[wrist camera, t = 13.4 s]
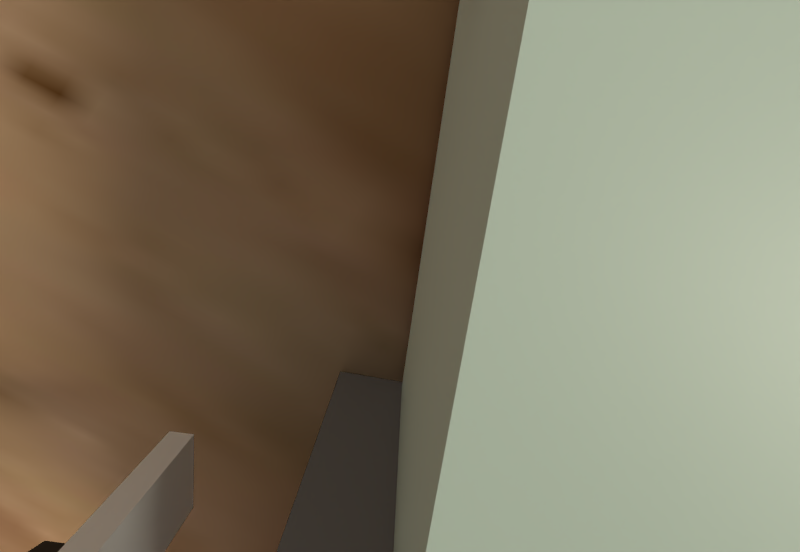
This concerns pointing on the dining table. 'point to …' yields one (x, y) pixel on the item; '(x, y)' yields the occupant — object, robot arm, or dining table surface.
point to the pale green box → (609, 284)
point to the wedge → (350, 472)
